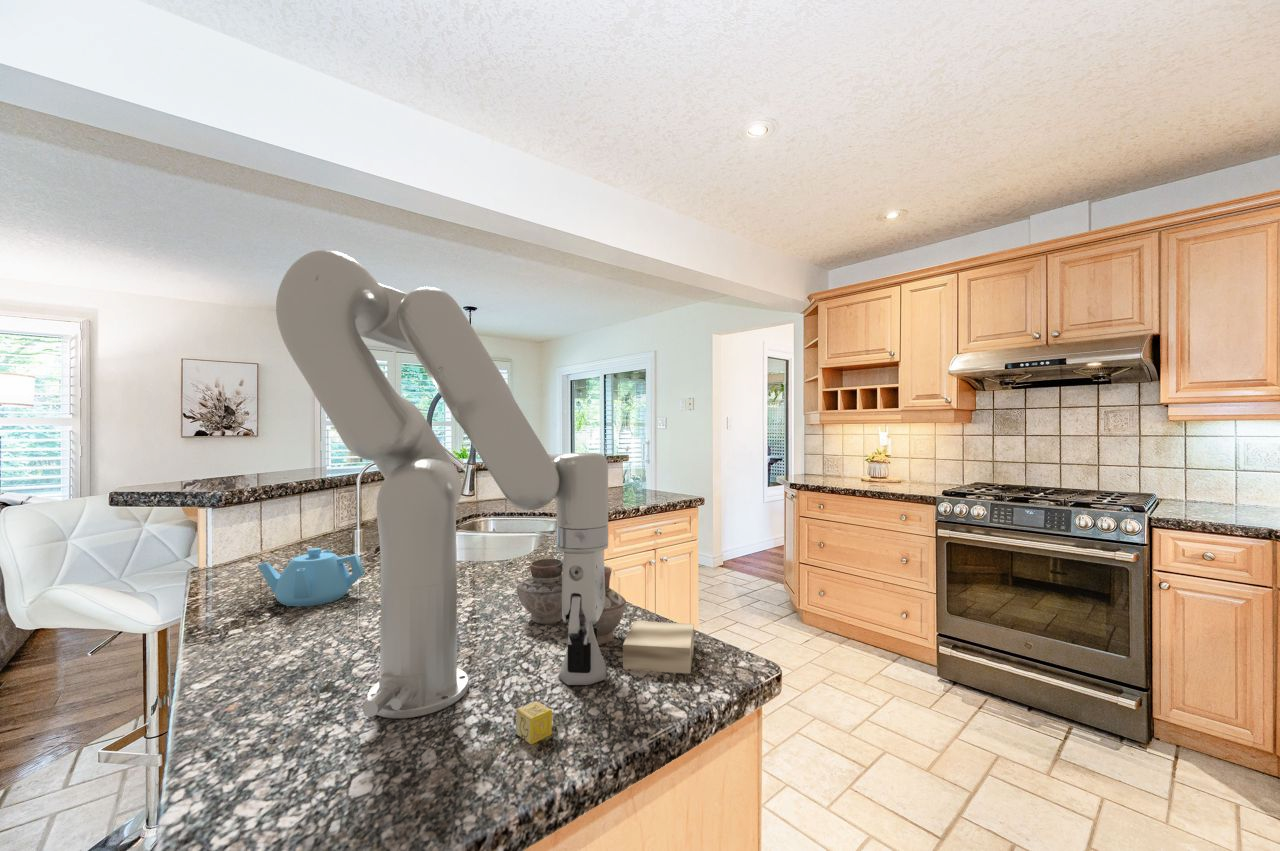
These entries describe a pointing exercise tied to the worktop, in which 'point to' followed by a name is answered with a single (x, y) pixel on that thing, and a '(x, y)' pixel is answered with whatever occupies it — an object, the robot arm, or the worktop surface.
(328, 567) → the teapot
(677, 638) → the maple block
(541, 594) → the pottery
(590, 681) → the flask
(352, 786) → the worktop surface
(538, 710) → the alphabet block
